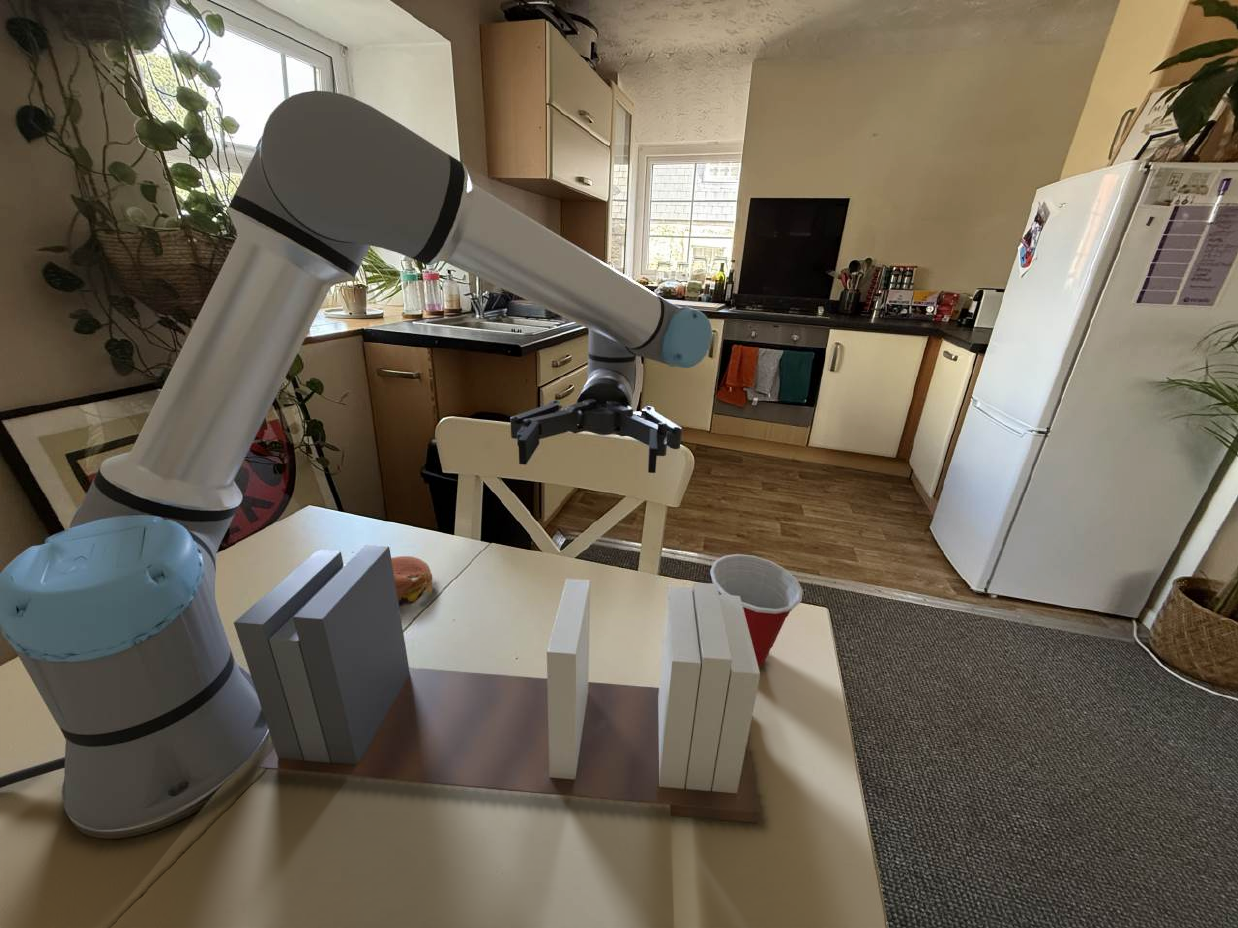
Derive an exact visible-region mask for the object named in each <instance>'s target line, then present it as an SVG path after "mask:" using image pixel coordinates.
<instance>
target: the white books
mask: <svg viewBox="0 0 1238 928" xmlns="http://www.w3.org/2000/svg"><path fill="white" fill-rule="evenodd" d="M662 642H663V643H662V654H661V663H660V664H661V665H660V673H659V674H660V675H659V686H658V687H659V695H658V722H659V787H669V788H680V789H684V787H685V788H686V789H693V790H704V791H711V788H712V791H715V792H727V793H737V790H738V785H739V780H740V775H741V770H742V765H743V760H744V755H745V749H746V744H747V745H748V740H749V734H750V727H751V723H752V718H753V713H754V708H755V704H756V698H757V693H758V688H759V683H760V678H761V672H760V671H761V670H760V668H759V667H758V663H757V659H756V656H755V652H754V648H753V644H752V640H751V636H750V632H749V629H748V625H747V621H746V617H745V613H744V609H743V605H742V601H741V598H740V596H733V595H719V591H718V586H717V584H713V583H707V582H693V586H692V587H691V586H677V585H676V586H675V585H668V588H667V599H666V610H665V620H664V633H663V641H662Z"/></svg>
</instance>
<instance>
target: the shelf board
mask: <svg viewBox="0 0 1238 928" xmlns="http://www.w3.org/2000/svg"><path fill="white" fill-rule="evenodd" d="M409 671H410V675H409V677H408V679H407V680H406V682H405V684H404V686H403V687H402V689H401V691H400V692H399V694H398V696H397V698H396V699H395V701H394V703H393V704H392V706H391V708H390V710H389V711H388V713H387V715H386V716H385V718H384V720H383V721H382V723H381V725H380V727H379V728H378V730H377V732H376V733H375V735H374V737H373V739H372V740H371V742H370V744H369V745H368V747H367V749H366V751H365V752H364V754H363V756H362V757H361V759H360V761H359V763H358V764H357V765H352V764H341V763H332V762H330V763H328V762H317V761H306V760H294V759H283V758H278V757H277V754H276V751H275V748H274V747H273V748H272V749H271V750H270V751H269V752H268V754H267V756H266V757H265V758H264V760H262V762H261V763H260V764H259V766H258V768H259V769H269V770H279V771H292V772H301V773H303V772H304V773H313V774H325V775H335V776H336V775H337V776H347V777H357V778H358V777H359V778H368V779H382V780H392V781H402V782H413V783H423V784H424V783H426V784H436V785H445V786H446V785H447V786H458V787H470V788H480V789H481V788H482V789H489V790H491V789H492V790H503V791H515V792H526V793H537V794H547V795H559V796H569V797H581V798H593V799H601V800H602V799H603V800H614V801H624V802H625V801H626V802H636V803H647V804H658V805H669V812H670V813H669V814H670V816H676V817H686V818H687V817H688V818H699V819H710V820H720V821H730V822H740V823H741V822H743V823H751V824H754V823H755V824H758V823H759V821H760V817H761V808H760V803H759V797H758V792H757V791H758V790H757V786H756V782H755V775H754V771H753V767H752V766H753V765H752V760H751V756H750V751H749V746H748V743H747V744H746V749H745V755H744V760H743V765H742V770H741V775H740V780H739V785H738V790H737V793H727V792H715V791H712V788H711V791H704V790H693V789H686V788H685V787H684V789H680V788H669V787H659V722H658V695H659V686H658V687H657V686H646V685H645V686H644V685H633V684H623V683H622V684H619V683H608V682H595V681H588V697H587V704H586V710H585V717H584V724H583V730H582V737H581V744H580V750H579V757H578V764H577V771H576V777H575V780H574V779H563V778H552V777H550V773H549V728H548V684H547V678H545V677H531V676H520V675H507V674H505V675H504V674H495V673H482V672H481V673H480V672H472V671H471V672H469V671H468V672H467V671H458V670H457V671H455V670H447V669H446V670H444V669H433V668H419V667H409Z"/></svg>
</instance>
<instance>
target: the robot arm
mask: <svg viewBox="0 0 1238 928" xmlns="http://www.w3.org/2000/svg"><path fill="white" fill-rule="evenodd" d="M226 211H227V213H228V215H229V218H230V221H231V222H232V225H233V227H234V228H235V230H236V238H235V240H234V243H233V245H232V246H231V249H230V251H229V253H228V255H227V257H226V259H225V261H224V263H223V265H222V267H221V269H220V271H219V272H218V274H217V277H216V279H215V281H214V283H213V285H212V287H211V289H210V291H209V293H208V295H207V297H206V299H205V301H204V303H203V306H202V307H201V309H200V311H199V313H198V315H197V317H196V319H195V321H194V324H193V326H192V327H191V329H190V331H189V333H188V336H187V338H186V339H185V341H184V343H183V346H182V347H181V349H180V351H179V354H178V355H177V357H176V360H175V362H174V364H173V365H172V368H171V370H170V372H169V374H168V376H167V378H166V380H165V382H164V384H163V386H162V388H161V390H160V392H159V394H158V396H157V398H156V400H155V402H154V404H153V406H152V409H151V411H150V412H149V415H148V416H147V419H146V421H145V422H144V424H143V426H142V428H141V431H140V432H139V435H138V436H137V438H136V440H135V443H134V444H133V447H132V449H131V450H130V451H128V452H125V453H121V454H118V455H114V456H112V457H108V458H106V459H105V460H103V461H102V463H101V465H100V467H99V468H98V471H97V472H96V474H95V476H94V477H93V480H92V482H91V485H90V486H89V488H88V491H87V493H85V496H84V499H83V501H82V502H81V504H80V505H79V506H78V508H77V509H76V511H75V513H74V515H73V517H72V519H71V522H70V523H69V528H67V529H65V530H61V531H60V532H57V533H55V534H53V535H50V536H48V537H46V538H45V540H44V543H43V544H39V545H32V546H29V547H28V548H27V549H25V550H24V551H22V552H21V553H20V554H18V555H17V556H16V557H15V558H14V559H12V560H11V561H10V562H9V563H8V564H6V566H5V567H4V568H3V570H1V572H0V633H1V634H2V636H3V637H4V638H5V640H6V641H7V643H8V644H9V645H11V647H12V648H13V649H14V651H15V653H16V655H17V656H18V658H19V660H20V662H21V663H22V665H23V667H24V669H25V670H26V672H27V674H28V675H29V677H30V679H31V681H32V682H33V684H34V686H35V688H36V690H37V691H38V693H39V695H40V697H41V698H42V700H43V702H44V704H45V706H46V707H47V709H48V711H49V713H50V715H51V716H52V718H53V719H54V721H55V723H56V725H57V726H58V727H59V729H60V732H61V733H62V735H63V737H64V739H65V748H64V756H63V757H60V758H56V759H53V760H50V761H46V762H43V763H39V764H37V765H34V766H31V767H26V768H24V769H20V770H17V771H14V772H10V773H8V774H5V775H2V776H0V789H1V788H4V787H7V786H11V785H13V784H16V783H19V782H23V781H25V780H29V779H32V778H36V777H39V776H42V775H45V774H48V773H51V772H55V771H59V770H62V769H64V777H63V783H62V787H61V798H62V802H63V808H64V811H65V813H66V814H67V817H68V818H69V820H70V821H71V823H72V824H73V826H74V827H75V829H77V830H78V831H79V832H80V833H82V834H85V835H86V836H89V837H92V838H97V839H106V840H113V839H126V838H132V837H136V836H141V835H144V834H148V833H151V832H155V831H157V830H159V829H163V828H166V827H168V826H170V825H172V824H175V823H178V822H179V821H181V820H184V819H185V818H188V817H189V816H191V815H193V814H196V813H197V812H199V811H200V810H202V809H203V808H204V807H205V806H206V805H207V803H208V802H209V801H210V800H211V798H212V797H213V796H214V795H215V794H216V793H217V791H218V790H219V789H220V787H221V786H222V785H223V784H224V783H225V782H226V781H227V780H228V779H230V778H231V777H232V776H234V775H235V774H236V773H237V772H238V771H239V770H240V769H241V768H242V767H243V766H244V765H245V764H246V763H247V762H248V761H249V760H250V759H251V758H252V757H253V755H254V754H256V752H257V751H258V750H259V748H260V746H261V745H262V744H263V743H264V741H265V739H266V737H267V736H268V734H269V733H270V732H269V729H268V726H267V723H266V720H265V717H264V714H263V711H262V708H261V705H260V702H259V699H258V696H257V693H256V690H255V687H254V683H253V680H252V677H251V674H250V672H248V671H247V670H246V669H245V668H244V667H243V666H242V665H241V664H239V663H238V662H237V661H236V660H235V658H234V654H233V652H232V649H231V645H230V642H229V639H228V636H227V632H226V630H225V628H224V624H223V621H222V618H221V616H220V612H219V609H218V605H217V599H216V578H217V577H216V576H217V575H216V571H217V565H216V564H217V554H218V551H219V548H220V546H221V544H222V541H223V539H224V537H225V536H226V533H227V531H228V529H229V527H230V525H231V523H232V521H233V519H234V517H235V515H236V513H237V510H238V509H239V508H240V505H241V503H242V501H243V493H242V491H241V490H240V488H239V486H238V485H237V484H236V482H235V479H236V477H237V474H238V472H239V471H240V468H241V466H242V465H243V462H244V461H245V459H246V456H247V454H248V453H249V451H250V448H251V446H252V445H253V443H254V441H255V439H256V437H257V434H258V432H259V431H260V429H261V427H262V424H263V423H264V421H265V419H266V417H267V415H268V413H269V411H270V410H271V409H270V408H271V407H272V405H273V403H274V401H275V399H276V397H277V395H278V393H279V391H280V389H281V388H282V385H283V383H284V381H285V379H286V377H287V375H288V373H289V371H290V369H291V367H292V365H293V364H294V361H295V359H296V357H297V356H298V353H299V351H300V349H301V348H302V345H303V343H304V341H305V339H306V337H307V336H308V334H309V332H310V329H311V328H312V325H313V323H314V321H315V320H316V318H317V316H318V314H319V312H320V309H321V308H322V306H323V304H324V302H325V300H326V298H327V295H328V294H329V291H330V289H331V288H332V287H334V286H336V285H339V284H343V283H348V282H353V281H354V279H355V277H356V275H357V273H358V272H359V269H360V267H361V266H362V264H363V261H364V260H365V258H366V255H367V254H368V251H369V249H370V248H371V247H376V248H381V249H383V250H388V251H390V252H394V253H396V254H400V255H402V256H405V257H408V258H410V259H412V260H413V261H414V260H415V261H417V262H418V263H421V264H423V265H425V266H432V265H434V264H435V265H436V264H437V263H440V262H444V263H447V264H448V265H451V266H453V267H455V268H457V269H459V270H462V271H464V272H465V273H468V274H470V275H472V276H474V277H476V278H479V279H481V280H482V281H485V282H488V283H489V284H492V285H493V286H496V287H498V288H500V289H502V290H504V291H506V292H508V293H511V294H513V295H515V296H516V297H520V298H521V299H524V300H526V301H528V302H530V303H532V304H534V305H536V306H538V307H540V308H543V309H545V310H547V311H549V312H552V313H553V314H555V315H556V314H557V315H558V316H560V317H562V318H565V319H567V320H569V321H570V322H573V323H575V324H577V325H579V326H581V327H584V328H586V329H588V352H587V353H588V357H587V381H586V383H585V384H584V386H583V388H582V389H581V392H580V393H579V395H578V397H577V399H576V402H575V403H573V404H571V405H568V406H562V403H561V401H560V400H556V399H554V400H550V401H549V403H547V404H544V405H542V406H539V407H537V408H533V409H530V410H527V411H525V412H522V413H519V414H515V415H513V416H511V417H510V419H509V420H510V423H509V424H510V438H511V439H514V440H516V441H517V447H518V464H519V465H524V466H525V465H528V463H529V461H530V459H531V458H532V456H533V455H534V453H535V452H536V450H537V448H538V447H539V445H540V440H543V439H546V438H549V437H554V436H557V435H561V434H565V433H569V432H570V433H572V434H579V433H583V432H586V431H587V432H590V433H592V434H595V435H598V436H609V435H613V434H616V435H618V436H619V437H626V436H628V437H629V438H632V439H634V440H636V441H638V442H640V443H642V444H645V445H646V446H648V461H647V462H648V466H647V472H648V474H656V471H657V470H656V469H657V458H658V457H665V456H667V449H668V447H669V448H670V449H673V450H680V449H681V442H682V430H683V428H682V427H681V426H679V425H678V424H676V423H675V422H673V421H672V420H670V419H668V418H666V417H665V416H663V415H662V414H660V413H658V412H657V411H655V408H654V406H650V405H647V406H644V407H643V408H642V409H641V411H634V409H633V408H632V405H633V397H634V393H635V390H636V361H637V360H636V359H637V357H642V358H645V359H648V360H650V361H655V362H658V363H661V364H664V365H668V366H669V367H671V368H674V367H677V368H682V369H689V368H692V367H695V366H697V365H699V364H700V363H701V362H702V361H703V360H704V359H705V357H706V356H707V354H708V351H709V349H710V346H711V344H712V339H713V330H712V325H711V324H712V323H711V321H710V320H709V318H708V317H707V315H706V314H705V313H703V312H702V311H700V310H698V309H695V308H691V307H690V306H679V305H676V304H674V303H672V302H670V301H668V300H667V299H665V298H664V297H662V296H660V295H658V294H657V293H655V292H653V291H651V290H650V289H648V288H647V287H645V286H643V285H642V284H640V283H638V282H636V281H635V280H633V279H632V278H630V277H628V276H627V275H625V274H623V273H622V272H620V271H618V270H617V269H615V268H613V267H612V266H610V265H608V264H607V263H605V262H604V261H602V260H601V259H599V258H597V257H595V256H594V255H592V254H590V253H589V252H587V251H586V250H584V249H583V248H581V247H579V246H577V245H576V244H574V243H572V242H571V241H569V240H567V239H566V238H564V237H563V236H561V235H559V234H557V233H556V232H554V231H552V230H551V229H549V228H547V227H546V226H544V225H542V224H541V223H539V222H538V221H536V220H534V219H533V218H531V217H529V216H527V215H526V214H524V213H523V212H521V211H519V210H518V209H516V208H515V207H513V206H511V205H509V204H508V203H507V202H504V201H503V200H501V199H500V198H498V197H496V196H494V195H493V194H492V193H490V192H488V191H486V190H485V189H483V188H482V187H480V186H478V185H477V184H475V183H473V182H472V179H471V177H470V174H469V171H468V167H467V166H466V165H465V163H463V162H462V161H460V160H458V159H457V158H456V157H453V156H452V155H450V154H449V153H447V152H446V151H444V150H442V149H440V148H439V147H438V146H436V145H434V144H433V143H431V142H430V141H428V140H427V139H425V138H423V137H422V136H420V135H419V134H417V133H416V132H414V131H413V130H411V129H409V127H407V126H405V125H403V124H402V123H399V121H397V120H395V119H394V118H391V117H390V116H388V115H387V114H385V113H383V112H381V111H380V110H378V109H376V108H375V107H373V106H371V105H369V104H367V103H365V102H363V101H360V100H358V99H356V98H354V97H352V96H349V95H346V94H343V93H338V92H333V91H327V90H310V91H303V92H300V93H296V94H294V95H290V96H289V97H287V98H285V99H283V100H282V102H280V103H279V104H278V105H277V106H276V107H275V108H274V109H273V111H271V112H270V114H269V116H268V117H267V120H266V122H265V124H264V127H263V131H262V134H261V136H260V138H259V140H258V142H257V144H256V146H255V149H254V154H253V155H252V158H251V160H250V161H249V164H248V166H247V168H246V170H245V172H244V174H243V176H242V178H241V180H240V182H239V184H238V187H236V190H235V193H234V195H233V197H232V198H231V201H230V202H229V205H228V207H227V209H226Z"/></svg>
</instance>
